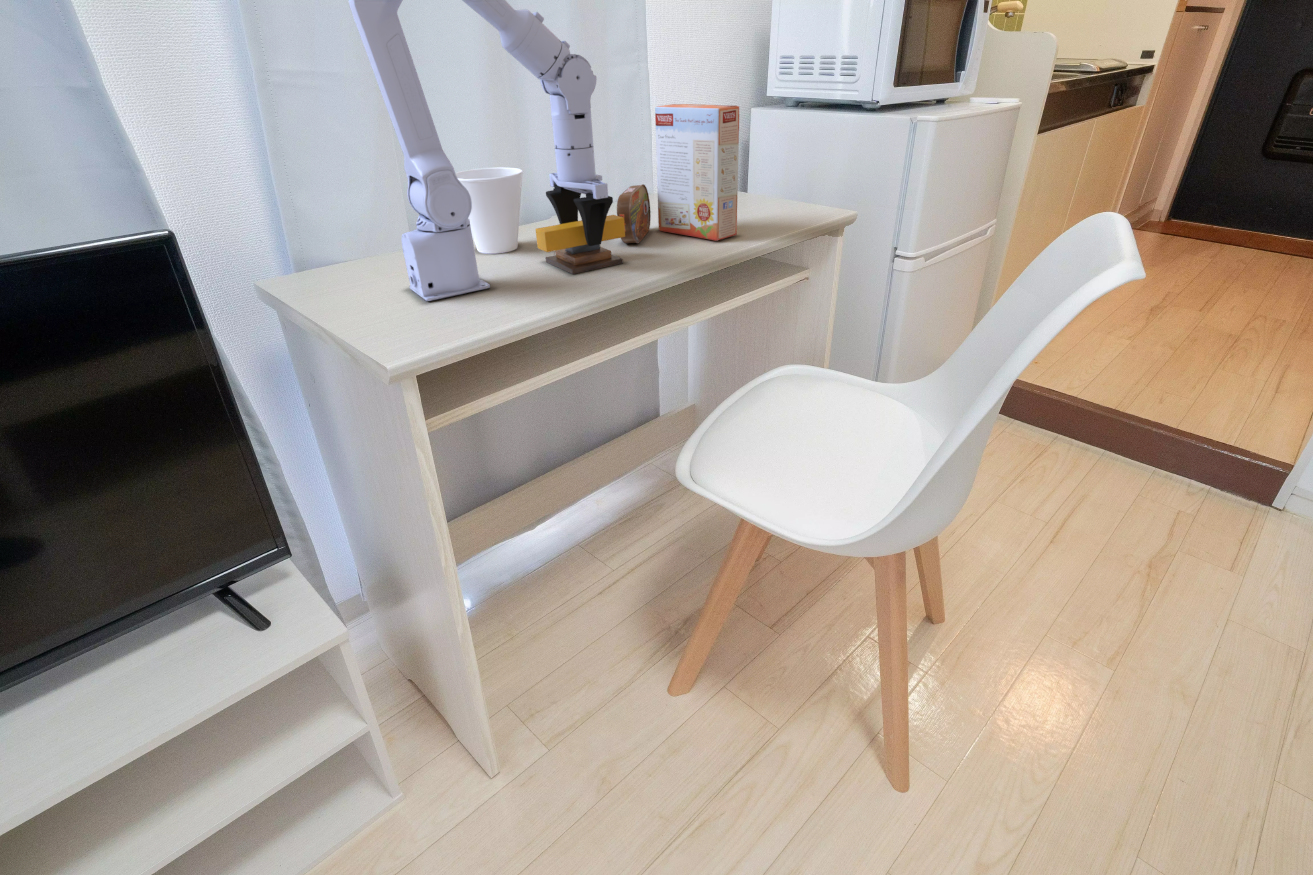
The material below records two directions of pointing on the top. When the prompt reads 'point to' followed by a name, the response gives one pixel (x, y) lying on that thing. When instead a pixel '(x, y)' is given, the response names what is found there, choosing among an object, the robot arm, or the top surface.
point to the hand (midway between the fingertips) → (582, 240)
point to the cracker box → (697, 169)
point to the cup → (494, 207)
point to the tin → (634, 213)
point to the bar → (576, 234)
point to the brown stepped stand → (583, 258)
